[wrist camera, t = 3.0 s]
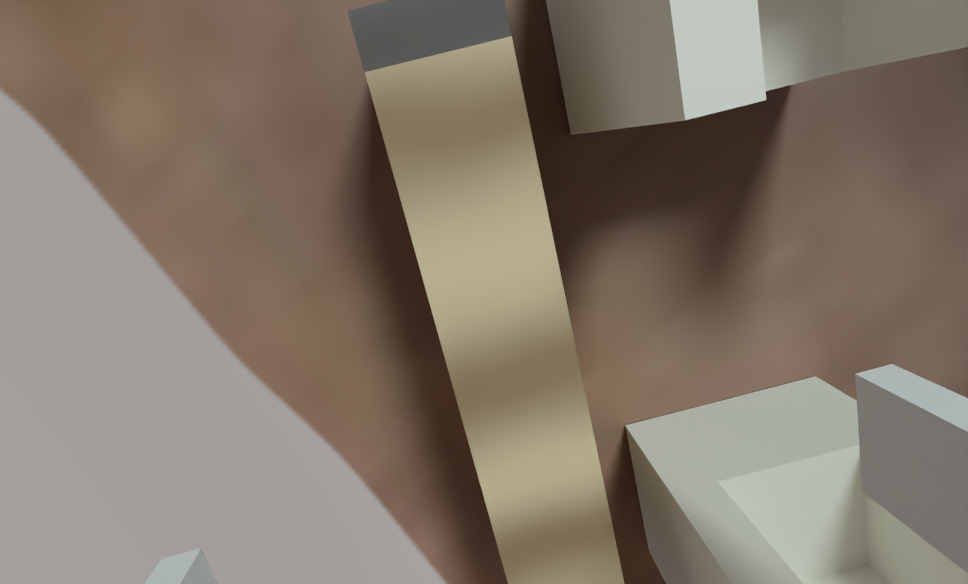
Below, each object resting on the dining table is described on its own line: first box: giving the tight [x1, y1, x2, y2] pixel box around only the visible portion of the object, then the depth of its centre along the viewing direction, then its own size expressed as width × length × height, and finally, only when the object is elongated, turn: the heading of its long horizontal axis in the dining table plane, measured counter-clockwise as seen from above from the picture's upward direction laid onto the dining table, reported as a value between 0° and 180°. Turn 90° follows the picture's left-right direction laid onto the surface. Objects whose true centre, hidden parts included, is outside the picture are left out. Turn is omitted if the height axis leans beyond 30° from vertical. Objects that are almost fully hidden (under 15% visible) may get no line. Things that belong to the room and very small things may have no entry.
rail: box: [348, 0, 625, 584], centre depth 19 cm, size 22×4×6 cm, turn 13°
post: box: [625, 376, 968, 584], centre depth 20 cm, size 7×9×10 cm
